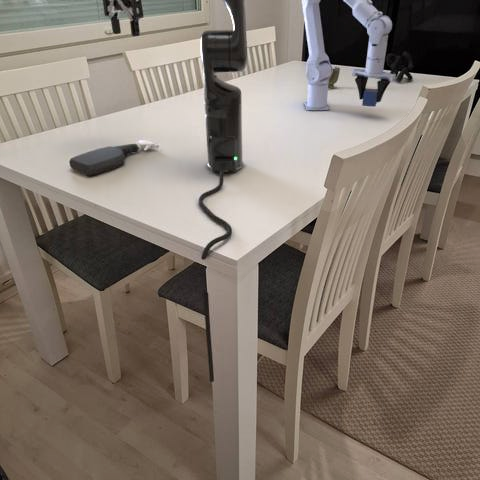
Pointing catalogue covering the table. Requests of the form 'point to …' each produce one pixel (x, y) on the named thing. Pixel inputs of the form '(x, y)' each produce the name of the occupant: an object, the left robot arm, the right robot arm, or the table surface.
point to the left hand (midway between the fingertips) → (126, 34)
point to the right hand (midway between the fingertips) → (370, 100)
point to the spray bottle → (106, 157)
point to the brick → (369, 97)
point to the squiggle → (400, 65)
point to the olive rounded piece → (333, 77)
